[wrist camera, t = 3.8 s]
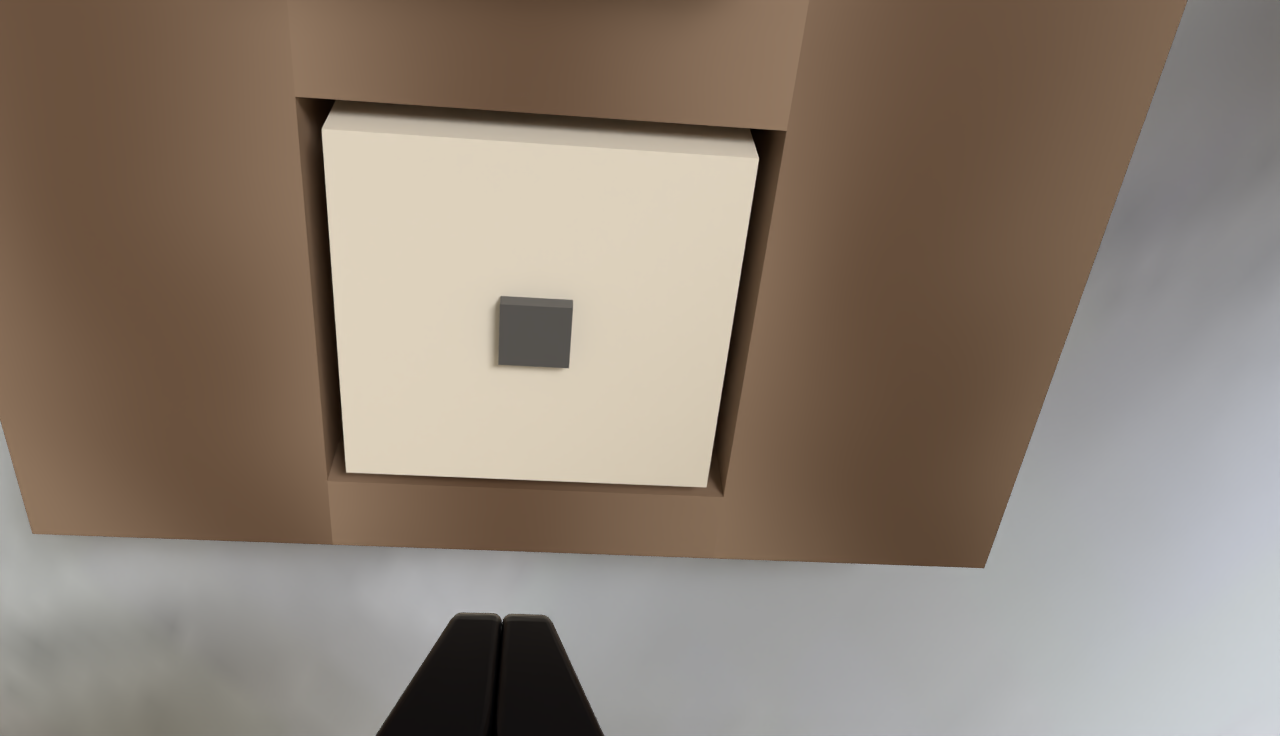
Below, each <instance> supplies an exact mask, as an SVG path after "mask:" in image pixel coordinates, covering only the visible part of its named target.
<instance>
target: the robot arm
mask: <svg viewBox="0 0 1280 736" xmlns="http://www.w3.org/2000/svg"><path fill="white" fill-rule="evenodd" d="M376 736H604V734H603V732H602V730H601V728H600V725H599V723H598V721H597V719H596V717H595V715H594V712H593V710H592V708H591V706H590V704H589V701H588V699H587V697H586V695H585V693H584V690H583V688H582V686H581V684H580V682H579V680H578V677H577V675H576V673H575V671H574V669H573V666H572V664H571V662H570V660H569V658H568V655H567V653H566V651H565V649H564V647H563V644H562V642H561V640H560V638H559V636H558V634H557V631H556V629H555V627H554V625H553V623H552V621H551V620H550V619H549V618H548V617H547V616H545V615H531V614H508V615H507V616H505V617H504V619H503V622H502V620H501V618H500V616H498V615H497V614H494V613H458V614H456V615H455V616H454V617H453V618H452V619H451V620H450V622H449V623H448V625H447V626H446V628H445V629H444V631H443V633H442V634H441V636H440V637H439V639H438V640H437V642H436V643H435V645H434V646H433V648H432V649H431V651H430V653H429V654H428V656H427V657H426V659H425V660H424V662H423V663H422V665H421V666H420V668H419V669H418V671H417V673H416V674H415V676H414V677H413V679H412V680H411V682H410V683H409V685H408V686H407V688H406V690H405V691H404V693H403V694H402V696H401V697H400V699H399V700H398V702H397V703H396V705H395V706H394V708H393V710H392V711H391V713H390V714H389V716H388V717H387V719H386V720H385V722H384V723H383V725H382V727H381V728H380V730H379V731H378V733H377V734H376Z"/></svg>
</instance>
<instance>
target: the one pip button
mask: <svg viewBox="0 0 1280 736" xmlns="http://www.w3.org/2000/svg"><path fill="white" fill-rule="evenodd" d="M322 142H323V156H324V170H325V184H326V197H327V211H328V225H329V239H330V253H331V267H332V281H333V295H334V309H335V323H336V337H337V351H338V365H339V379H340V393H341V407H342V421H343V435H344V449H345V463H346V473H370V474H394V475H418V476H443V477H467V478H491V479H515V480H539V481H563V482H587V483H611V484H635V485H659V486H683V487H707V481H708V474H709V468H710V462H711V456H712V449H713V443H714V437H715V431H716V424H717V418H718V412H719V406H720V400H721V393H722V387H723V381H724V375H725V368H726V362H727V356H728V350H729V343H730V337H731V331H732V325H733V318H734V312H735V306H736V300H737V293H738V287H739V281H740V275H741V268H742V262H743V256H744V250H745V244H746V237H747V231H748V225H749V219H750V212H751V206H752V200H753V194H754V187H755V181H756V175H757V169H758V162H759V157H758V153H757V150H756V147H755V144H754V141H753V138H752V135H751V132H750V128H738V127H724V126H709V125H695V124H681V123H666V122H652V121H638V120H623V119H609V118H594V117H580V116H566V115H551V114H537V113H523V112H508V111H494V110H479V109H465V108H451V107H436V106H422V105H408V104H393V103H379V102H364V101H350V100H336V101H335V103H334V105H333V107H332V109H331V111H330V113H329V115H328V117H327V119H326V121H325V123H324V125H323V127H322Z"/></svg>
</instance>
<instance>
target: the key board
mask: <svg viewBox="0 0 1280 736" xmlns="http://www.w3.org/2000/svg"><path fill="white" fill-rule="evenodd" d="M1187 1H1188V0H0V420H1V424H2V428H3V431H4V435H5V438H6V442H7V445H8V449H9V452H10V456H11V459H12V463H13V466H14V470H15V473H16V477H17V480H18V484H19V488H20V491H21V495H22V498H23V502H24V505H25V509H26V512H27V516H28V519H29V523H30V526H31V530H32V533H33V534H53V535H81V536H109V537H137V538H164V539H192V540H220V541H248V542H275V543H303V544H331V545H358V546H386V547H414V548H442V549H469V550H497V551H525V552H553V553H580V554H608V555H636V556H663V557H691V558H719V559H747V560H774V561H802V562H830V563H858V564H885V565H913V566H941V567H968V568H984V567H985V564H986V562H987V559H988V556H989V553H990V550H991V548H992V545H993V542H994V539H995V536H996V534H997V531H998V528H999V525H1000V522H1001V520H1002V517H1003V514H1004V511H1005V509H1006V506H1007V503H1008V500H1009V497H1010V495H1011V492H1012V489H1013V486H1014V483H1015V481H1016V478H1017V475H1018V472H1019V469H1020V467H1021V464H1022V461H1023V458H1024V456H1025V453H1026V450H1027V447H1028V444H1029V442H1030V439H1031V436H1032V433H1033V430H1034V428H1035V425H1036V422H1037V419H1038V416H1039V414H1040V411H1041V408H1042V405H1043V402H1044V400H1045V397H1046V394H1047V391H1048V389H1049V386H1050V383H1051V380H1052V377H1053V375H1054V372H1055V369H1056V366H1057V363H1058V361H1059V358H1060V355H1061V352H1062V349H1063V347H1064V344H1065V341H1066V338H1067V335H1068V333H1069V330H1070V327H1071V324H1072V322H1073V319H1074V316H1075V313H1076V310H1077V308H1078V305H1079V302H1080V299H1081V296H1082V294H1083V291H1084V288H1085V285H1086V282H1087V280H1088V277H1089V274H1090V271H1091V268H1092V266H1093V263H1094V260H1095V257H1096V255H1097V252H1098V249H1099V246H1100V243H1101V241H1102V238H1103V235H1104V232H1105V229H1106V227H1107V224H1108V221H1109V218H1110V215H1111V213H1112V210H1113V207H1114V204H1115V201H1116V199H1117V196H1118V193H1119V190H1120V188H1121V185H1122V182H1123V179H1124V176H1125V174H1126V171H1127V168H1128V165H1129V162H1130V160H1131V157H1132V154H1133V151H1134V148H1135V146H1136V143H1137V140H1138V137H1139V134H1140V132H1141V129H1142V126H1143V123H1144V121H1145V118H1146V115H1147V112H1148V109H1149V107H1150V104H1151V101H1152V98H1153V95H1154V93H1155V90H1156V87H1157V84H1158V81H1159V79H1160V76H1161V73H1162V70H1163V68H1164V65H1165V62H1166V59H1167V56H1168V54H1169V51H1170V48H1171V45H1172V42H1173V40H1174V37H1175V34H1176V31H1177V28H1178V26H1179V23H1180V20H1181V17H1182V14H1183V12H1184V9H1185V6H1186V3H1187ZM336 100H350V101H364V102H379V103H393V104H408V105H422V106H436V107H451V108H465V109H479V110H494V111H508V112H523V113H537V114H551V115H566V116H580V117H594V118H609V119H623V120H638V121H652V122H666V123H681V124H695V125H709V126H724V127H738V128H750V132H751V135H752V138H753V141H754V144H755V147H756V150H757V153H758V157H759V162H758V169H757V175H756V181H755V187H754V194H753V200H752V206H751V212H750V219H749V225H748V231H747V237H746V244H745V250H744V256H743V262H742V268H741V275H740V281H739V287H738V293H737V300H736V306H735V312H734V318H733V325H732V331H731V337H730V343H729V350H728V356H727V362H726V368H725V375H724V381H723V387H722V393H721V400H720V406H719V412H718V418H717V424H716V431H715V437H714V443H713V449H712V456H711V462H710V468H709V474H708V481H707V487H683V486H659V485H635V484H611V483H587V482H563V481H539V480H515V479H491V478H467V477H443V476H418V475H394V474H370V473H346V463H345V449H344V435H343V421H342V407H341V393H340V379H339V365H338V351H337V337H336V323H335V309H334V295H333V281H332V267H331V253H330V239H329V225H328V211H327V197H326V184H325V170H324V156H323V142H322V127H323V125H324V123H325V121H326V119H327V117H328V115H329V113H330V111H331V109H332V107H333V105H334V103H335V101H336Z"/></svg>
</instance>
